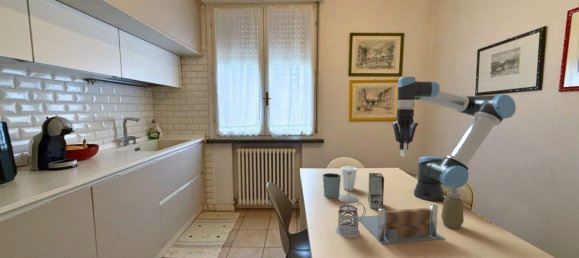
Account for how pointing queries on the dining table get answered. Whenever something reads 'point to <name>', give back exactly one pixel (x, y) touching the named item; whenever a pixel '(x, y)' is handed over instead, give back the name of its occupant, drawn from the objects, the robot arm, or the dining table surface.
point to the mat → (372, 226)
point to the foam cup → (348, 177)
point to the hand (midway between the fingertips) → (403, 156)
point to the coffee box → (376, 190)
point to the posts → (393, 231)
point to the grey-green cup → (331, 185)
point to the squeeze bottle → (452, 209)
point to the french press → (348, 216)
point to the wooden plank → (408, 222)
